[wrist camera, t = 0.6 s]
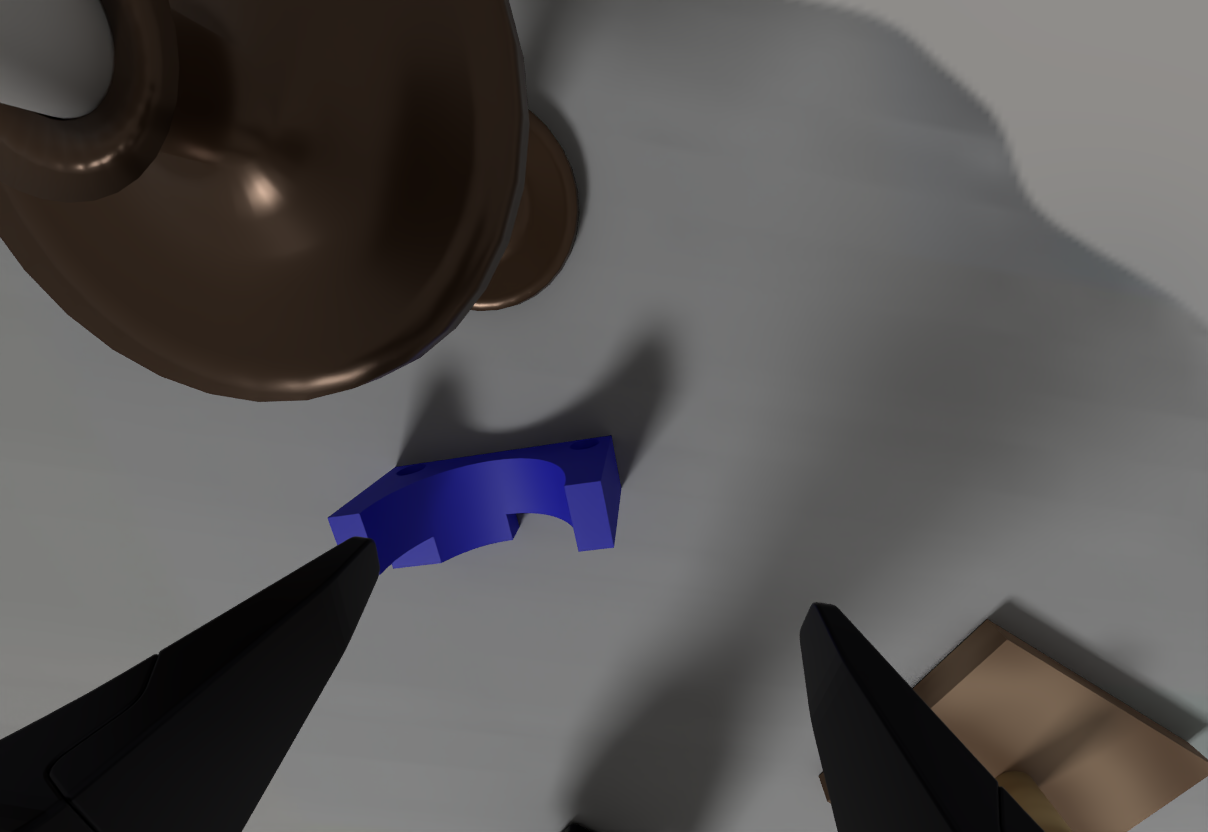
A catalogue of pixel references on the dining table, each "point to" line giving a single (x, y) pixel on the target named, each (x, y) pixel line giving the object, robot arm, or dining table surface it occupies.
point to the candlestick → (276, 181)
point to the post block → (1056, 736)
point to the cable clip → (485, 501)
